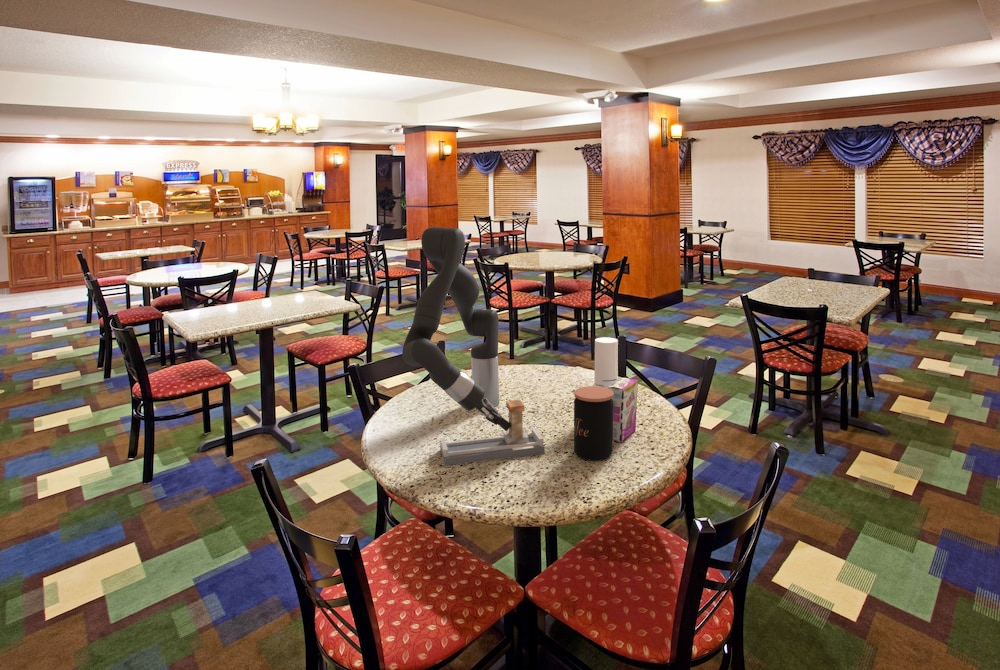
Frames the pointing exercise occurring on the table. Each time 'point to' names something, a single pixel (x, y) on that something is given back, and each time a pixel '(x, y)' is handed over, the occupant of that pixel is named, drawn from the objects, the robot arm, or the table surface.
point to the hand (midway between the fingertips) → (508, 427)
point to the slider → (515, 423)
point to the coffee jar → (593, 422)
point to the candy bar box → (624, 408)
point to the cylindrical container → (605, 361)
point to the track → (489, 449)
